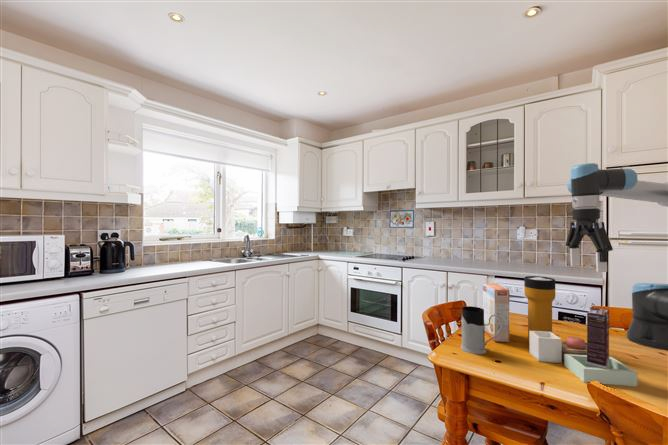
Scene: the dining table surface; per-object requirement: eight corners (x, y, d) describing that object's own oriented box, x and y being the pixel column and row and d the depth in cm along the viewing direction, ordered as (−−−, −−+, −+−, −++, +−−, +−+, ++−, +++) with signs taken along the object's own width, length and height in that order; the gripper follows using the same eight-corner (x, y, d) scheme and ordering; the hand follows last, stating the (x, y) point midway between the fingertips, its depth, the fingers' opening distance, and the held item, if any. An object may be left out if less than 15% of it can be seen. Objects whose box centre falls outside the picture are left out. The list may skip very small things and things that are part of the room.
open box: (551, 354, 110) (550, 331, 110) (561, 362, 103) (561, 339, 103) (529, 352, 111) (529, 330, 111) (538, 361, 104) (538, 337, 104)
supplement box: (607, 370, 90) (607, 315, 90) (586, 364, 93) (585, 312, 93) (609, 360, 96) (609, 309, 96) (589, 355, 99) (589, 306, 99)
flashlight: (520, 274, 125) (547, 275, 123) (520, 338, 125) (548, 340, 123) (530, 279, 115) (560, 280, 113) (531, 348, 115) (561, 350, 113)
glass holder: (460, 343, 121) (460, 305, 121) (501, 348, 115) (501, 308, 115) (460, 351, 113) (460, 310, 113) (504, 358, 107) (504, 315, 107)
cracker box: (510, 343, 120) (510, 289, 120) (494, 342, 121) (493, 289, 121) (497, 330, 134) (497, 282, 134) (482, 330, 135) (482, 282, 135)
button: (579, 344, 108) (579, 337, 108) (588, 350, 103) (588, 342, 103) (563, 343, 109) (563, 336, 109) (571, 349, 104) (571, 341, 104)
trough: (611, 369, 98) (611, 356, 98) (637, 386, 88) (637, 372, 88) (564, 366, 101) (564, 353, 101) (583, 382, 91) (583, 368, 91)
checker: (586, 353, 110) (586, 341, 110) (605, 366, 100) (605, 353, 100) (549, 351, 112) (548, 339, 112) (564, 363, 103) (564, 350, 103)
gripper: (553, 210, 121) (555, 264, 121) (599, 207, 96) (601, 274, 96) (574, 209, 120) (576, 263, 120) (626, 206, 95) (628, 274, 95)
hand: (587, 268), depth 108 cm, fingers open, 13 cm apart
